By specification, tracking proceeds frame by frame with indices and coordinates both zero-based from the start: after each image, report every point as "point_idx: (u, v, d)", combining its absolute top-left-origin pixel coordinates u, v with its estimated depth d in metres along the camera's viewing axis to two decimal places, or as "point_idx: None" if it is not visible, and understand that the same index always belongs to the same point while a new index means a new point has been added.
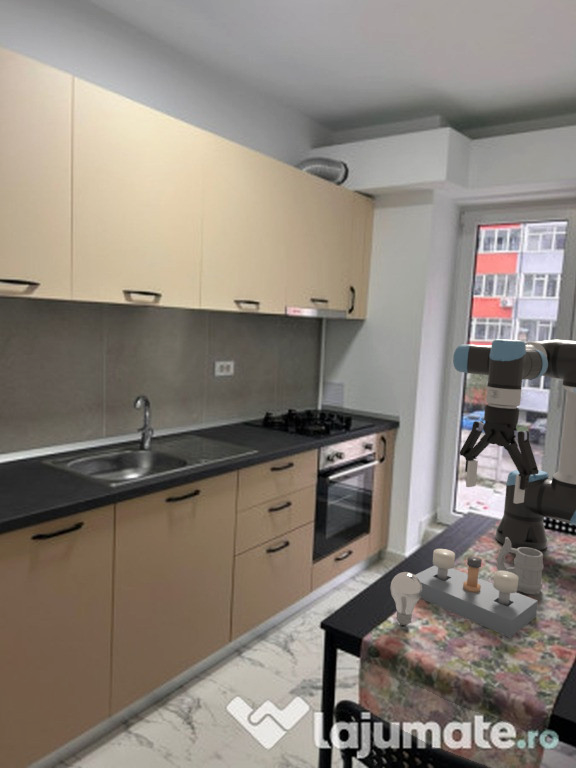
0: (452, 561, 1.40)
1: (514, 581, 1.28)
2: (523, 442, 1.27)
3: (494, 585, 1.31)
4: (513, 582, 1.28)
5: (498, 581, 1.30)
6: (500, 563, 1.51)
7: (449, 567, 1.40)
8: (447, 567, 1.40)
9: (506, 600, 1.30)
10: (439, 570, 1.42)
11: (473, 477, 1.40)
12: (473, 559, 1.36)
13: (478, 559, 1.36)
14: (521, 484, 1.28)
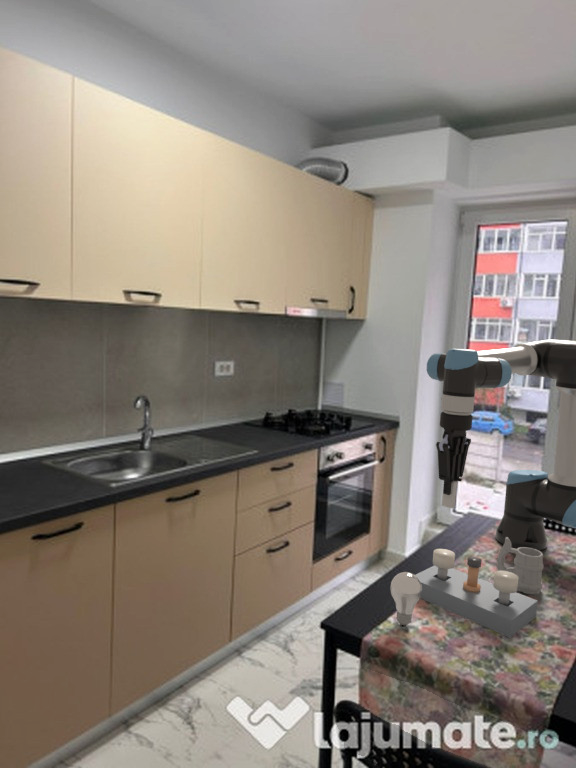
0: (452, 561, 1.40)
1: (514, 581, 1.28)
2: (438, 452, 1.36)
3: (494, 585, 1.31)
4: (513, 582, 1.28)
5: (498, 581, 1.30)
6: (500, 563, 1.51)
7: (449, 567, 1.40)
8: (447, 567, 1.40)
9: (506, 600, 1.30)
10: (439, 570, 1.42)
11: None
12: (473, 559, 1.36)
13: (478, 559, 1.36)
14: None
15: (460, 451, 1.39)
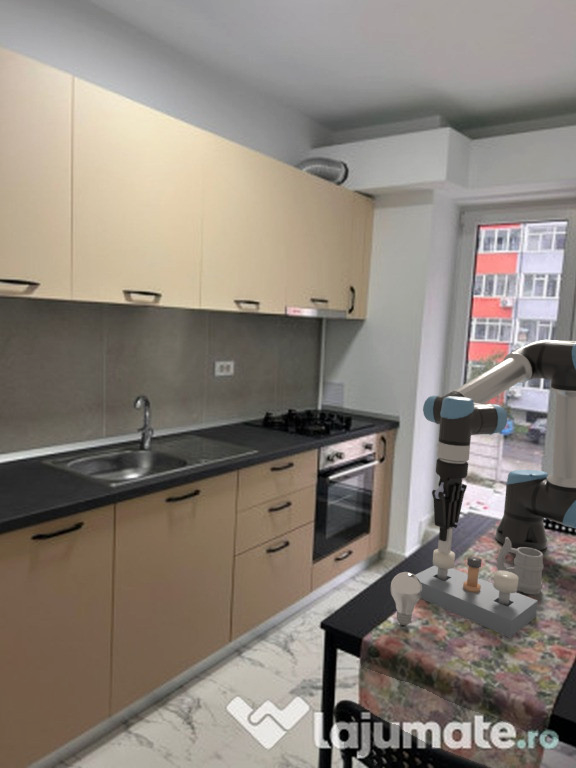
0: (452, 561, 1.40)
1: (514, 581, 1.28)
2: (434, 499, 1.37)
3: (494, 585, 1.31)
4: (513, 582, 1.28)
5: (498, 581, 1.30)
6: (500, 563, 1.51)
7: (449, 567, 1.40)
8: (447, 567, 1.40)
9: (506, 600, 1.30)
10: (439, 570, 1.42)
11: None
12: (473, 559, 1.36)
13: (478, 559, 1.36)
14: None
15: (456, 498, 1.40)
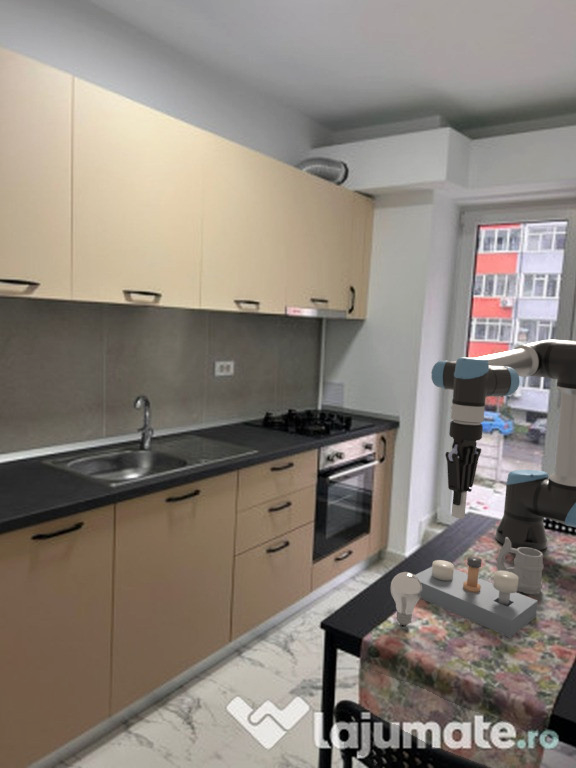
0: (451, 573, 1.41)
1: (514, 581, 1.28)
2: (448, 462, 1.35)
3: (494, 585, 1.31)
4: (513, 582, 1.28)
5: (498, 581, 1.30)
6: (500, 563, 1.51)
7: (448, 579, 1.40)
8: (446, 579, 1.40)
9: (506, 600, 1.30)
10: None
11: None
12: (473, 559, 1.36)
13: (477, 559, 1.36)
14: None
15: (470, 461, 1.37)
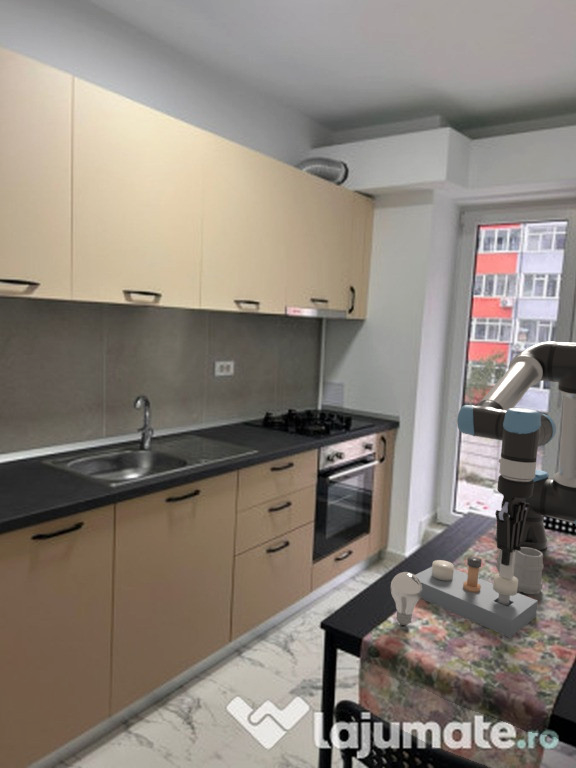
0: (451, 573, 1.41)
1: (514, 583, 1.29)
2: (498, 521, 1.26)
3: (494, 587, 1.31)
4: (512, 584, 1.28)
5: (498, 583, 1.30)
6: None
7: (448, 579, 1.40)
8: (446, 579, 1.40)
9: (506, 602, 1.30)
10: None
11: None
12: (473, 559, 1.36)
13: (477, 559, 1.36)
14: None
15: (520, 519, 1.29)
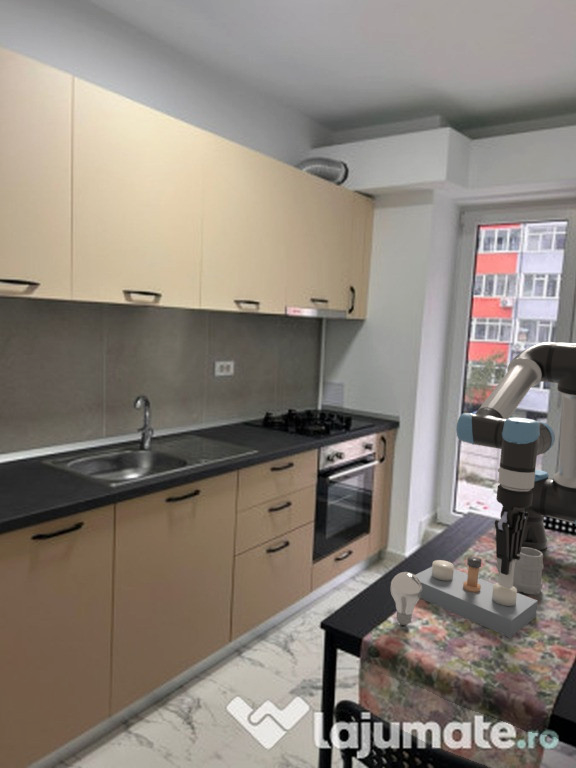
0: (451, 573, 1.41)
1: (513, 593, 1.29)
2: (497, 530, 1.27)
3: (493, 597, 1.31)
4: (511, 594, 1.29)
5: (497, 594, 1.30)
6: None
7: (448, 579, 1.40)
8: (446, 579, 1.40)
9: None
10: None
11: None
12: (473, 559, 1.36)
13: (478, 559, 1.36)
14: None
15: (519, 528, 1.29)
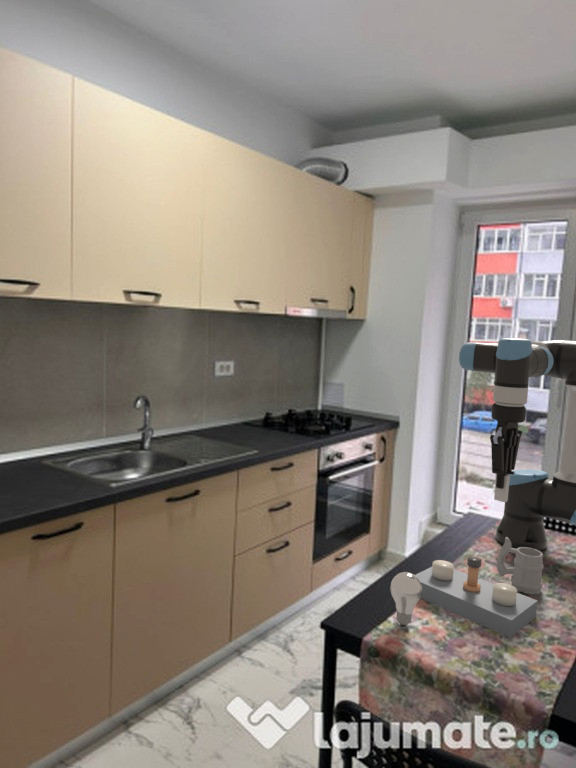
0: (451, 573, 1.41)
1: (513, 593, 1.29)
2: (492, 445, 1.32)
3: (493, 597, 1.31)
4: (511, 594, 1.29)
5: (497, 594, 1.30)
6: (500, 563, 1.51)
7: (448, 579, 1.40)
8: (446, 579, 1.40)
9: None
10: None
11: None
12: (473, 559, 1.36)
13: (478, 559, 1.36)
14: None
15: (513, 443, 1.35)
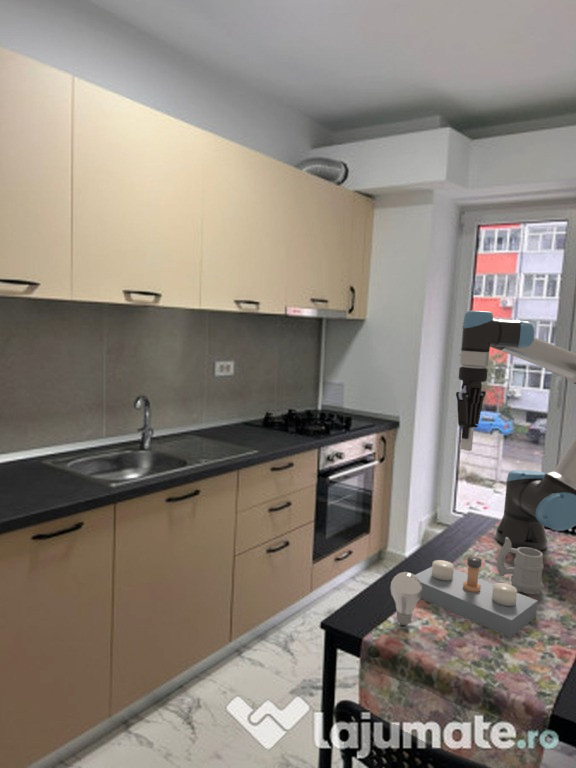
0: (451, 573, 1.41)
1: (513, 593, 1.29)
2: (458, 400, 1.56)
3: (493, 597, 1.31)
4: (511, 594, 1.29)
5: (497, 594, 1.30)
6: (500, 563, 1.51)
7: (448, 579, 1.40)
8: (446, 579, 1.40)
9: None
10: None
11: None
12: (473, 559, 1.36)
13: (477, 559, 1.36)
14: None
15: (476, 401, 1.59)
